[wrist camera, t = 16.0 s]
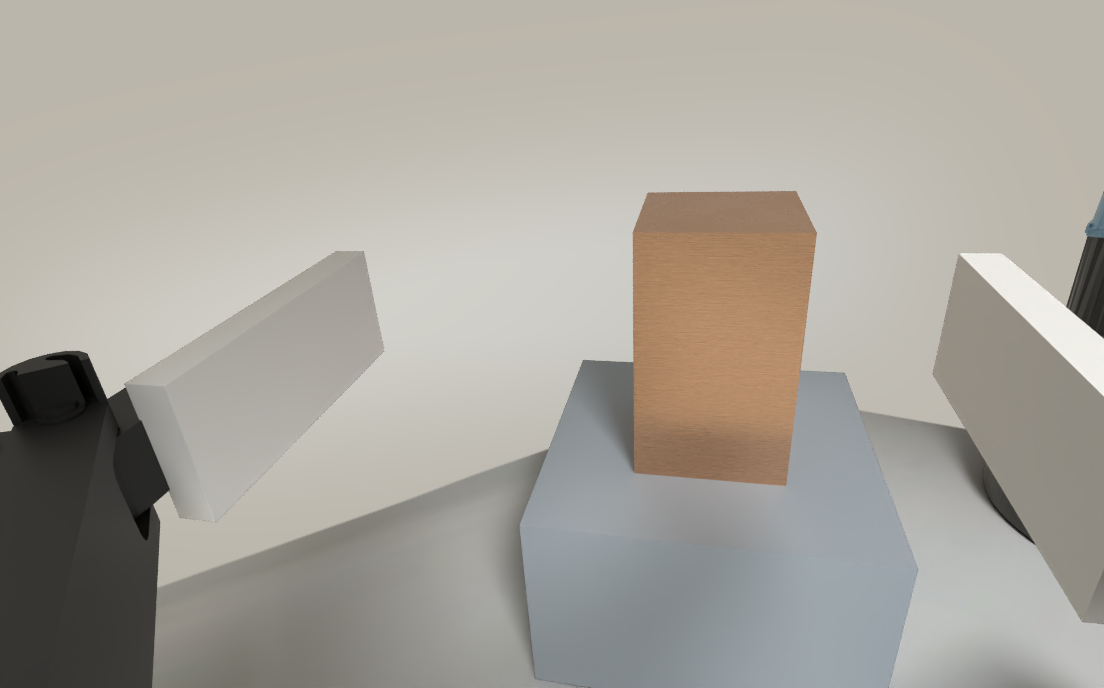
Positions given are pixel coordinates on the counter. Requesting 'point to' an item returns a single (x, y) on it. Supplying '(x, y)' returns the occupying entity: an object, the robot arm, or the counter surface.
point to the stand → (713, 556)
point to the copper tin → (719, 332)
